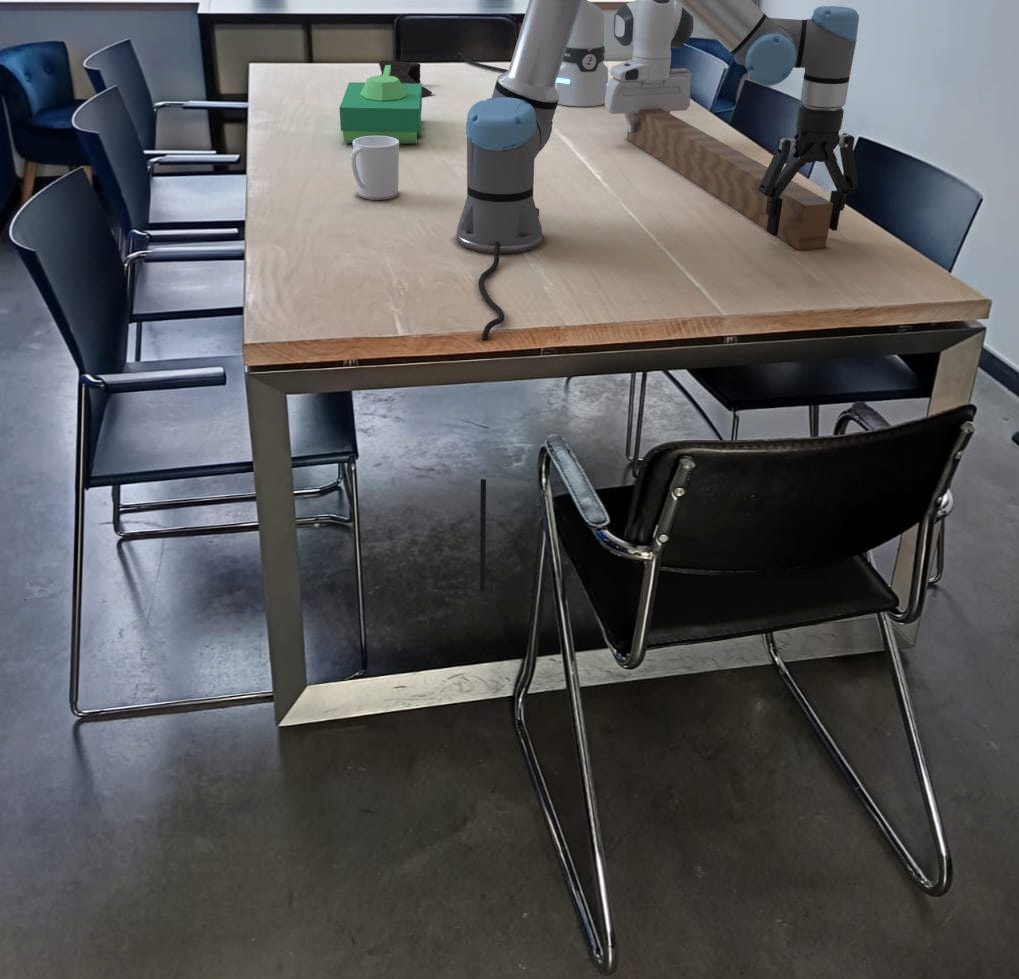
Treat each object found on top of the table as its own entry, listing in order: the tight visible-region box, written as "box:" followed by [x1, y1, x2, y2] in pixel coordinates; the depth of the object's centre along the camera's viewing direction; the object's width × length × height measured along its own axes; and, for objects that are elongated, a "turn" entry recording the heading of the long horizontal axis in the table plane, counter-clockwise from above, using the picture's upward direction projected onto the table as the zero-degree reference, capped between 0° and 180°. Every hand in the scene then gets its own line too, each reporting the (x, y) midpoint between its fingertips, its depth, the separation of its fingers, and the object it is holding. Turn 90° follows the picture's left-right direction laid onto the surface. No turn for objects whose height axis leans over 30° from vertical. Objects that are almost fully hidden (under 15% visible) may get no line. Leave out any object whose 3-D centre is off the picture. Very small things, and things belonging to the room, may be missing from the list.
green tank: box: [339, 65, 423, 145], centre depth 261 cm, size 18×12×35 cm
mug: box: [350, 136, 400, 201], centre depth 214 cm, size 11×9×10 cm
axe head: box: [378, 59, 433, 97], centre depth 299 cm, size 18×8×15 cm
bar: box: [626, 109, 833, 251], centre depth 226 cm, size 81×6×8 cm, turn 17°
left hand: (801, 230), depth 198 cm, fingers open, 11 cm apart
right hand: (645, 131), depth 256 cm, fingers closed on bar, 5 cm apart
